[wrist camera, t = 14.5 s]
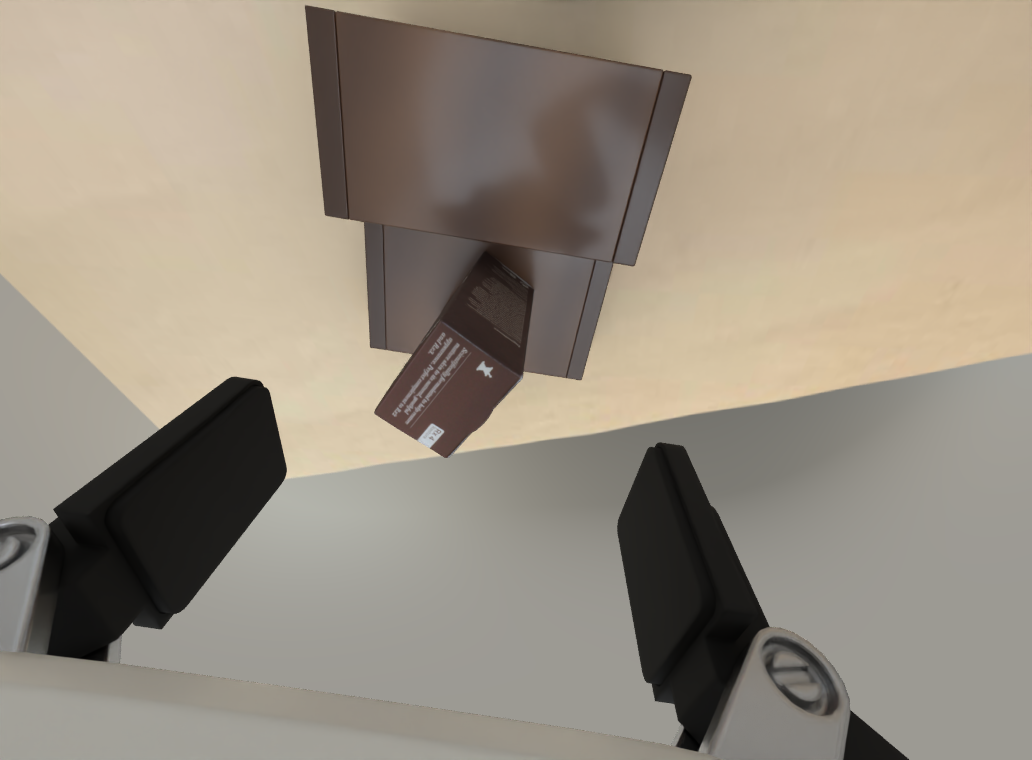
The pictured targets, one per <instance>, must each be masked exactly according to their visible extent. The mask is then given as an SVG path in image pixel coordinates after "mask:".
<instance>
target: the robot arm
mask: <svg viewBox="0 0 1032 760" xmlns="http://www.w3.org/2000/svg"><path fill="white" fill-rule="evenodd" d="M286 472H287V467H286V463H285V458H284V454H283V449H282V445H281V440H280V436H279V431H278V427H277V423H276V418H275V414H274V409H273V405H272V400H271V396H270V392H269V390H268V389H267V388H265V387H264V386H263V384H262V383H261V382H260V381H258V380H253V379H246V378H240V377H231V378H229V379H227V380H226V381H224V382H223V383H222V384H220V385H219V386H217V387H216V388H215V389H213V390H212V391H211V392H209V393H208V394H207V395H205V396H204V397H203V398H201V399H200V400H199V401H197V402H196V403H195V404H193V405H192V406H191V407H189V408H188V409H187V410H185V411H184V412H183V413H181V414H180V415H179V416H177V417H176V418H175V419H173V420H172V421H171V422H169V423H168V424H167V425H165V426H164V427H163V428H161V429H160V430H159V431H157V432H156V433H155V434H153V435H152V436H151V437H149V438H148V439H147V440H145V441H144V442H143V443H141V444H140V445H138V446H137V447H136V448H135V449H133V450H132V451H130V452H129V453H128V454H126V455H125V456H124V457H122V458H121V459H120V460H118V461H117V462H116V463H114V464H113V465H112V466H110V467H109V468H108V469H106V470H105V471H104V472H102V473H101V474H100V475H98V476H97V477H96V478H94V479H93V480H92V481H90V482H89V483H88V484H86V485H85V486H84V487H82V488H81V489H80V490H78V491H77V492H76V493H74V494H73V495H72V496H70V497H69V498H67V499H66V500H65V501H63V502H62V503H61V504H60V505H58V506H57V507H56V508H54V509H53V510H54V511H55V513H56V514H57V516H58V518H56V519H55V520H54V521H53V522H51V523H50V524H49V525H48V524H47V523H46V522H45V521H43V520H42V519H39V518H35V517H30V516H29V517H11V518H6V519H1V520H0V760H909V759H907V757H905V756H904V755H903V754H902V753H901V752H900V751H898V750H897V749H896V748H895V747H893V746H892V745H891V744H889V742H888V741H886V740H885V739H884V738H883V737H882V736H881V735H879V734H878V733H877V732H876V731H874V730H873V729H872V728H871V727H870V726H869V725H867V724H866V723H865V722H864V721H863V720H861V719H860V718H859V717H858V716H857V715H856V714H854V713H853V712H852V711H851V710H850V699H849V696H848V693H847V690H846V688H845V685H844V683H843V681H842V679H841V678H840V676H839V674H838V673H837V671H836V670H835V668H834V667H833V665H832V664H831V663H830V662H829V661H828V660H827V658H826V657H825V656H824V655H823V654H822V653H821V652H820V651H819V650H817V648H815V647H814V646H813V645H812V644H811V643H810V642H808V641H807V640H805V639H804V638H802V637H800V636H799V635H797V634H795V633H794V632H791V631H788V630H785V629H782V628H776V627H775V628H774V627H769V625H768V622H767V620H766V618H765V616H764V613H763V611H762V609H761V607H760V605H759V602H758V600H757V598H756V596H755V594H754V592H753V589H752V587H751V585H750V583H749V581H748V578H747V576H746V574H745V572H744V570H743V567H742V565H741V563H740V561H739V559H738V556H737V554H736V552H735V550H734V548H733V545H732V543H731V541H730V539H729V537H728V534H727V532H726V530H725V528H724V526H723V524H722V521H721V519H720V517H719V515H718V513H717V512H716V510H715V509H714V508H713V507H712V506H711V505H710V503H709V501H708V499H707V496H706V494H705V492H704V490H703V487H702V485H701V483H700V481H699V479H698V476H697V474H696V472H695V469H694V467H693V465H692V463H691V461H690V458H689V456H688V454H687V452H686V450H685V448H684V447H683V446H680V445H674V444H666V443H657V444H656V446H655V448H654V447H649V448H648V450H647V452H646V454H645V457H644V459H643V461H642V464H641V466H640V468H639V471H638V473H637V476H636V478H635V481H634V483H633V485H632V488H631V490H630V493H629V495H628V497H627V500H626V502H625V505H624V507H623V509H622V512H621V514H620V517H619V519H618V526H617V529H618V530H617V531H618V538H619V543H620V549H621V555H622V561H623V566H624V572H625V577H626V583H627V588H628V594H629V600H630V606H631V611H632V617H633V622H634V628H635V634H636V639H637V645H638V651H639V656H640V662H641V667H642V673H643V676H644V679H645V681H646V682H647V683H652V687H653V693H654V698H655V701H659V702H666V703H672V704H675V709H676V713H677V717H678V721H679V722H680V723H681V725H680V727H679V730H678V732H677V734H676V736H675V738H674V740H673V742H672V744H671V746H669V745H665V744H660V743H654V742H648V741H642V740H636V739H630V738H625V737H619V736H613V735H607V734H601V733H595V732H589V731H584V730H578V729H571V728H565V727H558V726H551V725H545V724H538V723H530V722H524V721H518V720H511V719H504V718H498V717H491V716H484V715H478V714H471V713H464V712H457V711H450V710H443V709H437V708H430V707H424V706H417V705H409V704H403V703H396V702H389V701H382V700H375V699H368V698H361V697H354V696H347V695H340V694H333V693H326V692H319V691H312V690H306V689H299V688H291V687H285V686H278V685H270V684H263V683H256V682H249V681H242V680H235V679H226V678H220V677H212V676H206V675H198V674H191V673H184V672H177V671H169V670H162V669H155V668H147V667H141V666H133V665H126V664H120V654H121V639H122V634H123V633H124V631H125V630H126V629H127V628H128V627H129V626H130V625H131V623H133V624H134V625H135V626H141V627H148V628H155V629H162V628H163V627H164V626H165V624H166V623H167V622H168V621H169V619H170V618H171V617H172V616H173V614H177V613H179V612H181V611H182V610H183V609H184V608H185V607H186V606H187V605H188V604H189V603H190V601H191V600H192V599H193V598H194V596H195V595H196V594H197V592H198V591H199V590H200V588H201V587H202V586H203V585H204V583H205V582H206V581H207V579H208V578H209V577H210V575H211V574H212V573H213V572H214V570H215V569H216V568H217V566H218V565H219V564H220V563H221V561H222V560H223V559H224V557H225V556H226V555H227V553H228V552H229V551H230V550H231V548H232V547H233V546H234V545H235V543H236V542H237V541H238V539H239V538H240V537H241V535H242V534H243V533H244V532H245V530H246V529H247V528H248V526H249V525H250V524H251V522H252V521H253V520H254V519H255V517H256V516H257V515H258V513H259V512H260V511H261V510H262V508H263V507H264V506H265V504H266V503H267V502H268V501H269V499H270V498H271V497H272V495H273V494H274V493H275V492H276V490H277V489H278V488H279V486H280V485H281V484H282V482H283V481H284V479H285V476H286Z"/></svg>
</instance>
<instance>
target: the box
mask: <svg viewBox="0 0 1032 760" xmlns="http://www.w3.org/2000/svg"><path fill="white" fill-rule="evenodd" d="M534 291H535V290H534V289H533V288H532V287H531V286H530V285H529V284H528V283H527V282H526V281H524V280H523V279H521V278H520V277H519V276H518V275H516V274H515V273H514V272H513V271H512V270H510V269H509V268H507V267H506V266H505V265H504V264H502V263H501V262H500V261H498V260H497V259H496V258H494V257H493V256H492V255H491V254H489V253H488V252H487V251H485V252H483V254H482V255H481V257H480V258H479V259H478V261H477V262H476V264H475V265H474V266H473V268H472V269H471V271H470V272H469V274H468V275H467V276H466V278H465V279H464V281H463V282H462V284H461V285H460V286H459V288H458V289H457V291H456V292H455V293H454V295H453V296H452V298H451V299H450V300H449V302H448V303H447V305H446V306H445V308H444V309H443V311H442V312H441V313H440V315H439V316H438V318H437V319H436V321H435V322H434V324H433V325H432V326H431V328H430V329H429V331H428V332H427V334H426V335H425V337H424V338H423V340H422V341H421V343H420V344H419V346H418V347H417V349H416V350H415V351H414V353H413V355H412V356H411V357H410V359H409V360H408V362H407V363H406V364H405V366H404V367H403V369H402V370H401V372H400V373H399V375H398V376H397V378H396V379H395V380H394V382H393V383H392V385H391V386H390V388H389V389H388V391H387V392H386V394H385V395H384V397H383V398H382V400H381V401H380V403H379V404H378V406H377V408H376V409H375V412H374V414H375V415H377V416H379V417H380V418H382V419H383V420H385V421H386V422H388V423H389V424H391V425H393V426H394V427H396V428H397V429H399V430H401V431H402V432H404V433H405V434H407V435H409V436H410V437H412V438H414V439H415V440H417V441H419V442H420V443H422V444H424V445H425V446H427V447H429V448H430V449H432V450H434V451H435V452H437V453H438V454H440V455H441V456H443V457H444V458H448V457H450V456H451V455H452V454H453V453H454V452H455V451H456V450H457V449H458V447H459V446H460V445H461V444H462V443H463V442H464V441H465V440H466V439H467V437H468V436H469V435H470V434H471V433H472V432H474V431H476V430H477V429H478V428H480V427H481V426H482V425H483V424H484V423H485V422H486V421H487V419H488V418H489V416H490V415H491V413H492V411H493V409H494V408H495V407H496V406H497V405H498V404H499V403H500V402H501V401H502V400H503V399H504V398H505V397H506V395H507V394H508V393H509V392H510V391H511V390H512V389H513V388H514V387H515V386H516V385H517V384H518V383H519V382H520V381H521V380H522V378H523V372H524V364H525V358H526V351H527V342H528V334H529V327H530V319H531V312H532V306H533V297H534Z"/></svg>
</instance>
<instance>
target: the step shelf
mask: <svg viewBox="0 0 1032 760" xmlns="http://www.w3.org/2000/svg"><path fill="white" fill-rule="evenodd" d="M305 11H306V22H307V32H308V43H309V53H310V64H311V74H312V84H313V95H314V105H315V116H316V126H317V137H318V147H319V158H320V168H321V178H322V189H323V199H324V210H325V215H326V216H331V217H337V218H343V219H350V220H356V221H362V222H364V229H365V249H366V270H367V291H368V311H369V332H370V347H371V348H377V349H384V350H390V351H397V352H403V353H409V354H413V353H414V351H415V350H416V349H417V347H418V346H419V344H420V343H421V341H422V340H423V338H424V337H425V335H426V334H427V332H428V331H429V329H430V328H431V326H432V325H433V324H434V322H435V321H436V319H437V318H438V316H439V315H440V313H441V312H442V311H443V309H444V308H445V306H446V305H447V303H448V302H449V300H450V299H451V298H452V296H453V295H454V293H455V292H456V291H457V289H458V288H459V286H460V285H461V284H462V282H463V281H464V279H465V278H466V276H467V275H468V274H469V272H470V271H471V269H472V268H473V266H474V265H475V264H476V262H477V261H478V259H479V258H480V257H481V255H482V254H483V252H485V251H487V252H488V253H489V254H491V255H492V256H493V257H494V258H496V259H497V260H498V261H500V262H501V263H502V264H504V265H505V266H506V267H507V268H509V269H510V270H512V271H513V272H514V273H515V274H516V275H518V276H519V277H520V278H521V279H523V280H524V281H526V282H527V283H528V284H529V285H530V286H531V287H532V288H533V289H534V290H535V291H534V297H533V306H532V312H531V319H530V327H529V334H528V342H527V351H526V358H525V364H524V371H525V372H531V373H537V374H544V375H550V376H557V377H563V378H570V379H576V380H582V377H583V373H584V369H585V366H586V362H587V358H588V355H589V351H590V347H591V344H592V340H593V336H594V333H595V329H596V325H597V322H598V318H599V314H600V311H601V307H602V303H603V300H604V296H605V292H606V289H607V285H608V282H609V278H610V274H611V271H612V267H613V263H616V264H622V265H628V266H635V263H636V260H637V257H638V253H639V250H640V247H641V243H642V240H643V237H644V233H645V230H646V227H647V223H648V220H649V217H650V214H651V210H652V207H653V204H654V200H655V197H656V194H657V190H658V187H659V184H660V180H661V177H662V174H663V171H664V167H665V164H666V161H667V157H668V154H669V151H670V147H671V144H672V141H673V138H674V134H675V131H676V128H677V124H678V121H679V118H680V114H681V111H682V108H683V104H684V101H685V98H686V95H687V91H688V88H689V85H690V81H691V78H692V76H691V75H689V74H683V73H678V72H672V71H667V70H666V71H664V72H663V70H661V69H656V68H650V67H645V66H639V65H634V64H628V63H622V62H617V61H611V60H606V59H600V58H595V57H589V56H584V55H578V54H572V53H567V52H561V51H556V50H550V49H545V48H539V47H534V46H528V45H522V44H517V43H511V42H506V41H500V40H495V39H489V38H484V37H478V36H473V35H467V34H461V33H456V32H450V31H445V30H439V29H434V28H428V27H423V26H417V25H411V24H406V23H400V22H395V21H389V20H384V19H378V18H373V17H367V16H361V15H356V14H350V13H345V12H339V11H336V12H335V11H334V10H329V9H324V8H318V7H312V6H307V5H306V6H305Z"/></svg>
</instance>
